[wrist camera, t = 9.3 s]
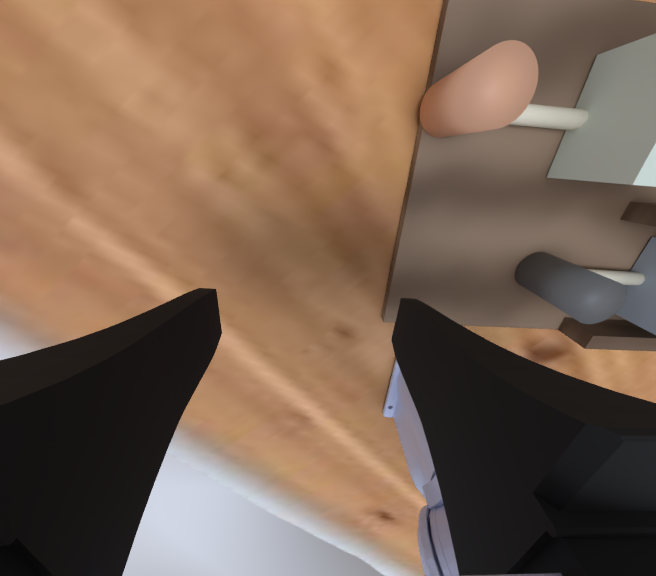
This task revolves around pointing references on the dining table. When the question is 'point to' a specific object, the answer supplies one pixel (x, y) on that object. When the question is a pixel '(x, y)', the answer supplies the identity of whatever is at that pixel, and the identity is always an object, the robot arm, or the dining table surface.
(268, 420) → the dining table surface
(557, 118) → the sage cube mallet
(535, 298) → the shelf
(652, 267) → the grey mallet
